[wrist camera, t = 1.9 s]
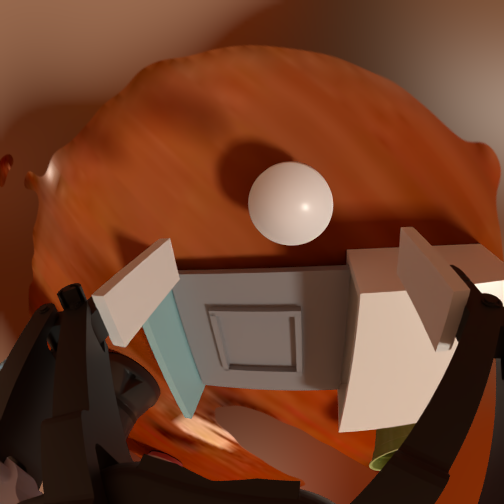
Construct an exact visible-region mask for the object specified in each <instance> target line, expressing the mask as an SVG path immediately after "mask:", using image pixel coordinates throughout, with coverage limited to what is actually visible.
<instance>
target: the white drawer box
mask: <svg viewBox="0 0 504 504" xmlns="http://www.w3.org/2000/svg"><path fill="white" fill-rule="evenodd" d="M432 247H433V248H434V249H435V250H436V251H437V252H438V253H439V254H440V255H441V256H442V257H443V258H444V260H445V261H446V262H447V263H448V264H449V265H454V266H456V267H458V268H459V269H461V270H462V271H463V272H464V273H465V274H466V276H467V277H468V278H469V279H470V281H472V282H473V283H474V285H475V286H476V287H477V288H478V289H479V290H480V292H481V293H488V294H492V295H494V296H496V297H498V298H499V299H500V300H501V301H502V303H503V307H504V263H503V262H502V261H501V260H499V259H498V258H497V257H496V256H495V255H494V254H492V253H491V252H490V251H489V250H487V249H486V248H485V247H484V246H483V245H481V244H462V245H440V246H432ZM398 255H399V247H394V248H371V249H348V250H347V258H346V265H349V268H350V283H349V301H348V315H347V327H346V338H345V348H344V357H343V365H342V372H341V380H340V387H339V389H337V390H338V419H339V432H351V431H363V430H373V429H381V428H388V427H395V426H401V425H407V424H413V423H417V421H418V420H419V418H420V416H421V415H422V413H423V411H424V410H425V408H426V406H427V405H428V403H429V401H430V400H431V398H432V396H433V394H434V392H435V391H436V389H437V387H438V385H439V383H440V381H441V379H442V377H443V375H444V373H445V371H446V369H447V367H448V365H449V363H450V361H451V359H452V357H453V354H454V352H455V350H456V347H457V345H458V341H457V339H456V338H455V341H454V343H453V346H452V349H451V350H446V351H440V352H435V350H434V348H433V346H432V343H431V341H430V339H429V337H428V334H427V332H426V330H425V328H424V326H423V324H422V321H421V319H420V317H419V315H418V313H417V311H416V309H415V307H414V305H413V303H412V301H411V299H410V297H409V295H408V293H407V291H406V290H405V288H404V286H403V284H402V282H401V280H400V278H399V277H398V275H397V265H398Z"/></svg>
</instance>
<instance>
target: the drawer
mask: <svg viewBox="0 0 504 504" xmlns="http://www.w3.org/2000/svg"><path fill="white" fill-rule="evenodd" d="M178 274H179V278H180V280H179V281H178V282H177V283H176V285H175V286H174V287H173V288H172V289H171V291H170V292H169V293H168V294H167V296H166V297H165V298H164V299H163V300H162V302H161V303H160V304H159V305H158V307H157V308H156V309H155V310H154V312H153V313H152V314H151V315H150V317H149V318H148V319H147V320H146V322H145V323H144V324H143V325H142V326H143V329H144V332H145V334H146V336H147V339H148V341H149V344H150V346H151V348H152V351H153V353H154V355H155V358H156V360H157V362H158V364H159V367H160V369H161V371H162V373H163V375H164V377H165V380H166V382H167V384H168V386H169V388H170V390H171V392H172V394H173V396H174V398H175V400H176V402H177V404H178V406H179V408H180V409H181V411H182V413H183V415H184V417H185V418H190V419H192V416H193V414H194V412H195V409H196V407H197V404H198V402H199V399H200V397H201V394H202V392H203V390H204V387H205V385H213V386H223V387H234V388H248V389H266V390H334V389H339V387H340V380H341V372H342V365H343V357H344V348H345V338H346V327H347V315H348V301H349V283H350V268H349V265H334V266H310V267H283V268H251V269H214V270H178Z"/></svg>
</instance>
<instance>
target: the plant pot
mask: <svg viewBox="0 0 504 504" xmlns="http://www.w3.org/2000/svg"><path fill="white" fill-rule="evenodd" d="M415 424H416V423H413V424H407V425H401V426H395V427H388V428H381V429H377V430H376V441H375V450H374V452H373V458H372V461H371V462H370V464H369V467H370V468H371V469H373V470H377V471H381V469H382V468H383V467H384V466H385V464H386V463H387V462H388V461H389V459H390V458H391V457H392V456H393V454H394V453H395V452H396V451H397V450H398V449H399V447H400V446H401V445H402V443H403V442H404V440H405V439H406V438H407V436H408V435H409V433H410V432H411V430H412V429H413V427H414V426H415Z"/></svg>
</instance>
